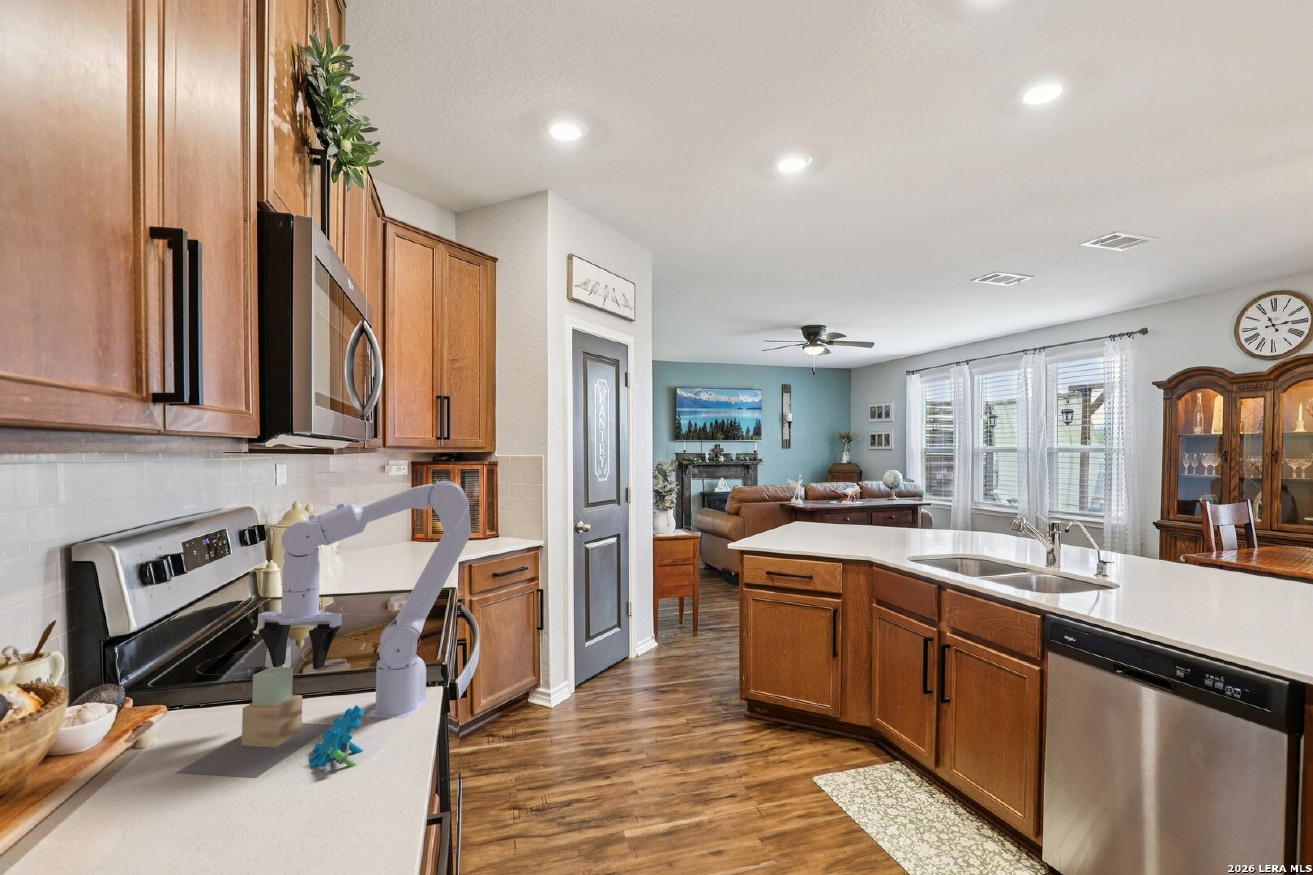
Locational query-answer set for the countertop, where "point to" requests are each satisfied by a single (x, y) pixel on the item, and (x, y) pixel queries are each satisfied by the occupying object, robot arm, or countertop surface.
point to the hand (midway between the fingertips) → (298, 666)
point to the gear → (338, 740)
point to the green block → (272, 686)
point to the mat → (251, 755)
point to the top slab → (272, 714)
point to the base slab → (271, 734)
